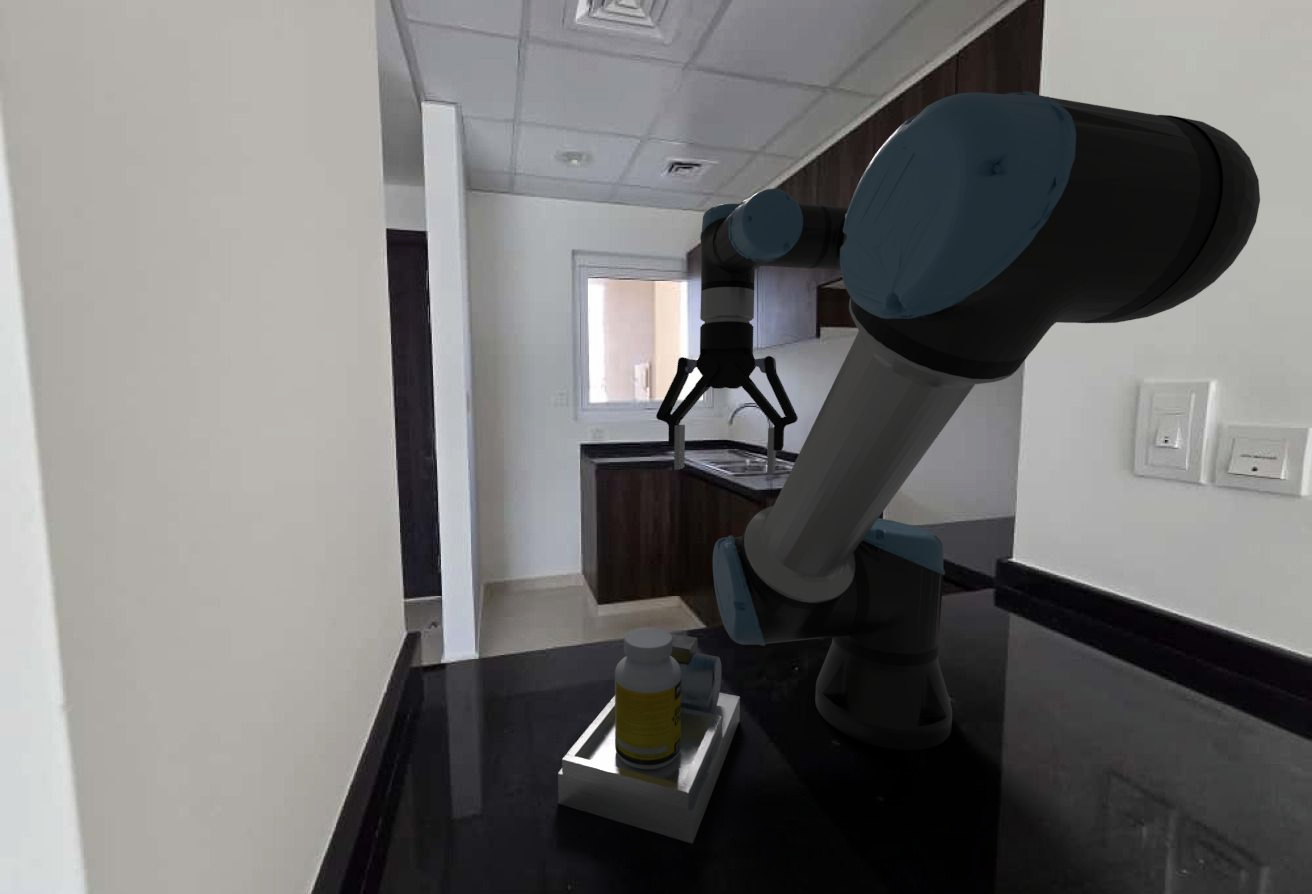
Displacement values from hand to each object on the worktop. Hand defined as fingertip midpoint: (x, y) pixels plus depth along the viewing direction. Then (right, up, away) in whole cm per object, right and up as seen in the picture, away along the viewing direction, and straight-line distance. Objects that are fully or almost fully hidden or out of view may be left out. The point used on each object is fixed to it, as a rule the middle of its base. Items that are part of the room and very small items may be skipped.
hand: (723, 471), depth 81 cm
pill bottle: (-11, -27, -26) cm, 39 cm away
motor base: (-10, -29, -23) cm, 38 cm away
